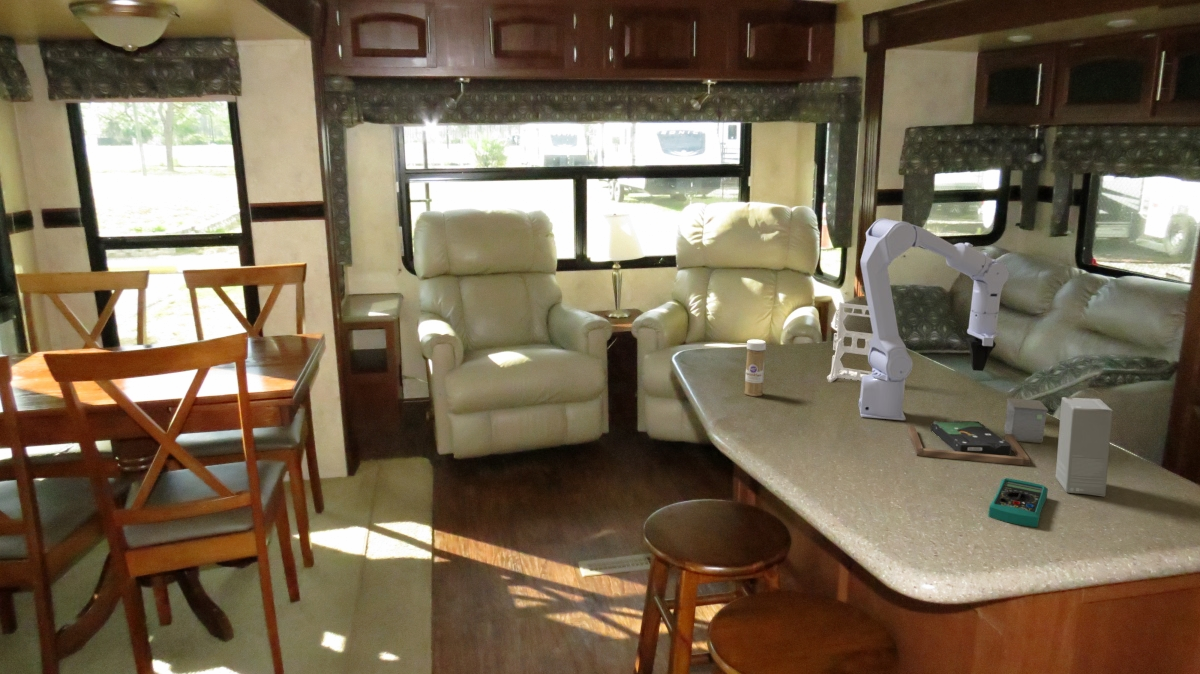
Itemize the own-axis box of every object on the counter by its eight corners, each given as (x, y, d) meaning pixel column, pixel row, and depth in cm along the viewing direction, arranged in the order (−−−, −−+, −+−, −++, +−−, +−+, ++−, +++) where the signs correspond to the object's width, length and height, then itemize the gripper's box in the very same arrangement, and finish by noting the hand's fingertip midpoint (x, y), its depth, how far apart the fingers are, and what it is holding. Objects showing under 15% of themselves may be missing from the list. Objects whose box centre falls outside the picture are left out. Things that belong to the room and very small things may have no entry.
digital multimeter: (986, 520, 135) (988, 503, 134) (1000, 490, 147) (1002, 474, 146) (1036, 532, 131) (1039, 515, 130) (1046, 500, 143) (1049, 484, 142)
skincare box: (1105, 498, 143) (1119, 411, 139) (1060, 492, 145) (1072, 407, 141) (1092, 480, 151) (1105, 397, 147) (1049, 475, 153) (1061, 393, 149)
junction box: (1009, 440, 171) (1014, 407, 169) (1002, 430, 177) (1006, 398, 175) (1043, 443, 169) (1048, 409, 168) (1035, 433, 176) (1039, 400, 174)
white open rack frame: (893, 378, 217) (900, 303, 213) (880, 390, 206) (887, 312, 201) (839, 369, 225) (845, 297, 220) (823, 381, 213) (829, 305, 209)
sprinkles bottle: (744, 396, 200) (747, 342, 197) (744, 391, 204) (746, 338, 201) (763, 397, 199) (766, 343, 196) (762, 391, 203) (765, 339, 200)
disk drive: (1011, 458, 163) (976, 432, 177) (1013, 445, 162) (978, 420, 177) (959, 458, 163) (929, 432, 177) (961, 444, 162) (930, 419, 176)
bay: (916, 455, 162) (917, 449, 162) (907, 430, 176) (908, 425, 176) (1029, 465, 157) (1030, 460, 157) (1011, 439, 171) (1011, 434, 171)
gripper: (1011, 318, 177) (1003, 379, 180) (996, 306, 191) (989, 363, 194) (976, 317, 178) (969, 377, 182) (964, 305, 192) (957, 361, 195)
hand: (977, 369), depth 188 cm, fingers closed
